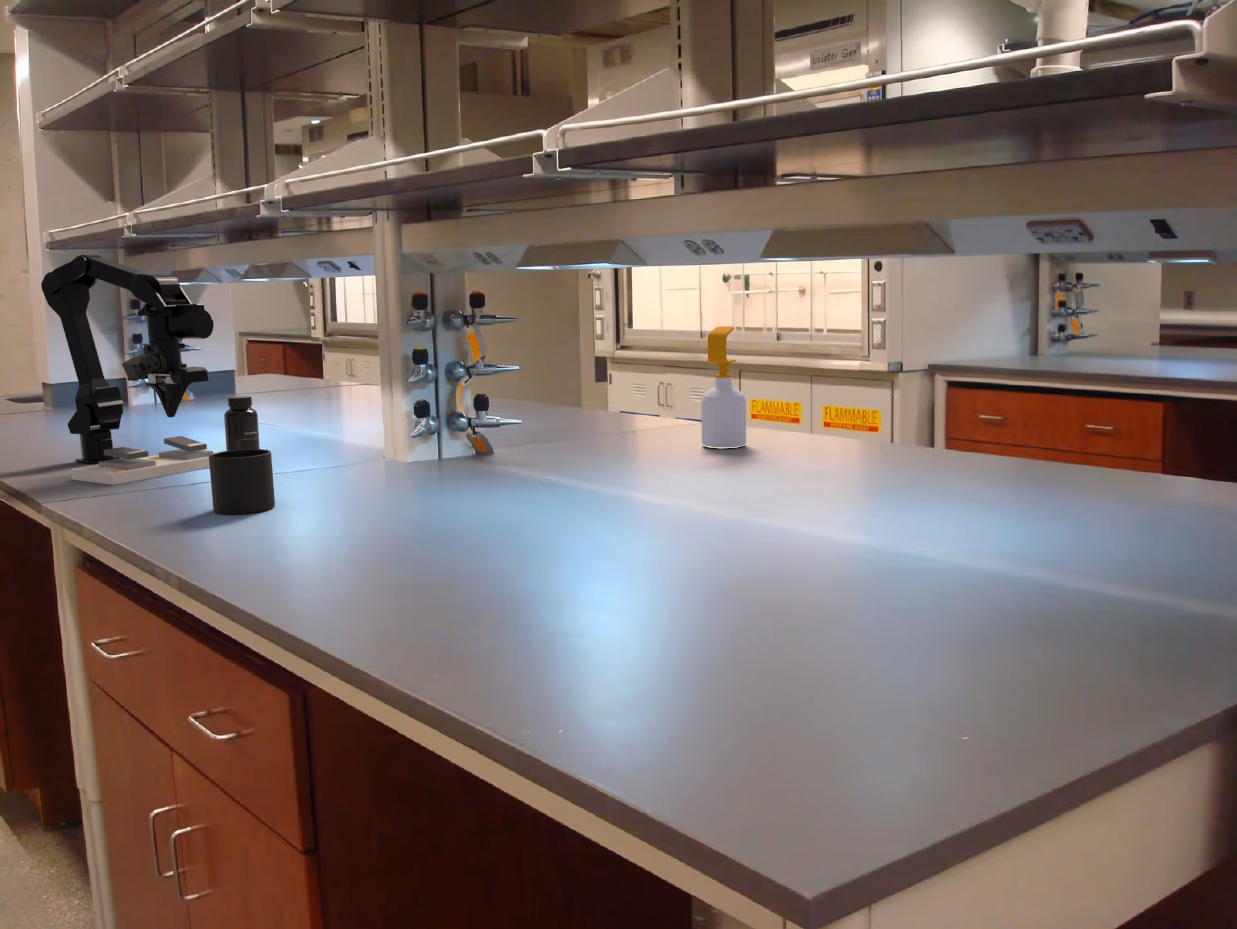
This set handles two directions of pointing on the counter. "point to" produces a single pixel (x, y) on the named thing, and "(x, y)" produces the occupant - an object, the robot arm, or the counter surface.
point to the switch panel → (143, 467)
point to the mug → (242, 481)
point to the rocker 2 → (185, 443)
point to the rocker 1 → (126, 453)
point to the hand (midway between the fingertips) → (171, 417)
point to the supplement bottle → (241, 424)
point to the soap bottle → (722, 399)
